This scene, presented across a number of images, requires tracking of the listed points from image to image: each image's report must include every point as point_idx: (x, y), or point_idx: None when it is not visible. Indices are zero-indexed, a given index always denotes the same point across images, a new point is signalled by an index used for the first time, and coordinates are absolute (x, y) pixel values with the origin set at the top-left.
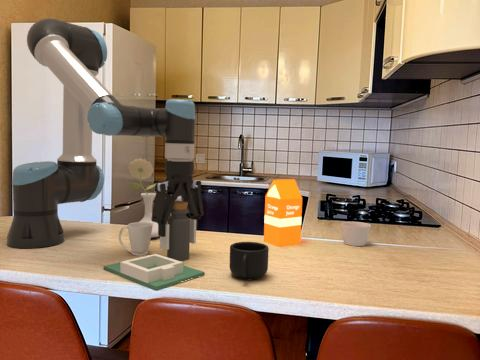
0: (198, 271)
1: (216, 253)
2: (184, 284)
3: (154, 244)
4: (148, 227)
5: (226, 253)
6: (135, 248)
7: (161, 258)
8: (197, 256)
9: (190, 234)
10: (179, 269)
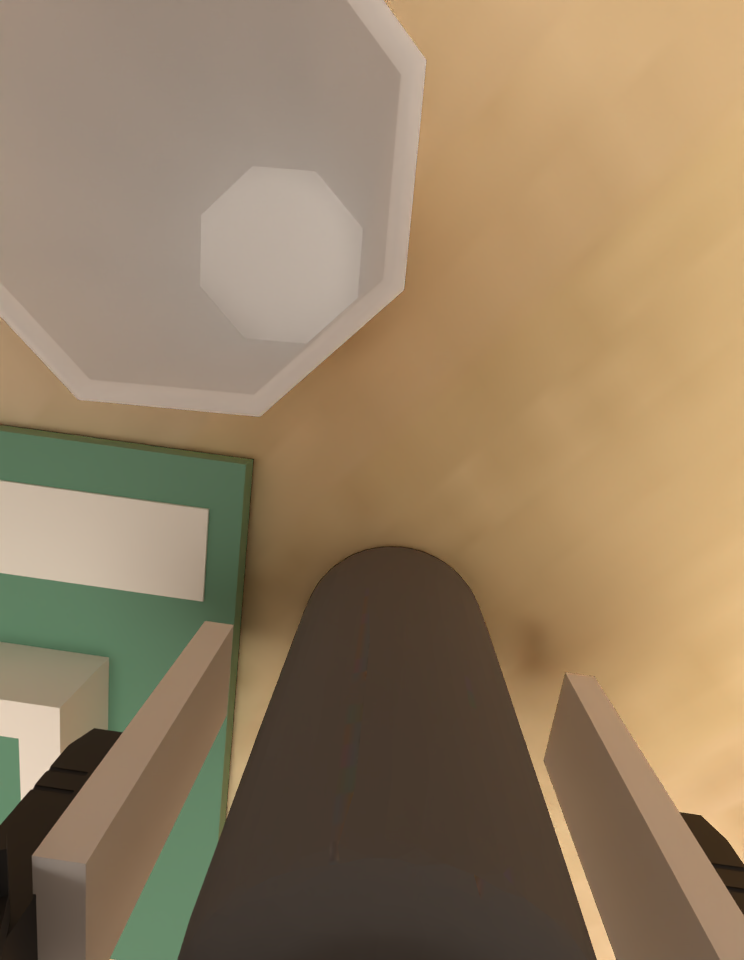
0: None
1: (691, 769)
2: None
3: (653, 96)
4: (188, 402)
5: (735, 823)
6: (181, 283)
7: None
8: (527, 708)
9: (585, 788)
10: None
